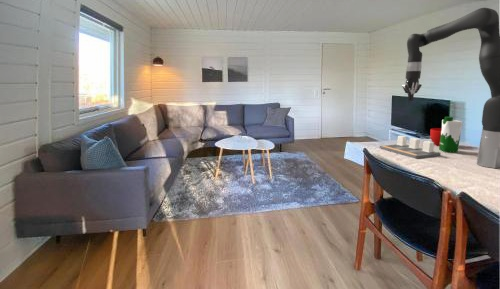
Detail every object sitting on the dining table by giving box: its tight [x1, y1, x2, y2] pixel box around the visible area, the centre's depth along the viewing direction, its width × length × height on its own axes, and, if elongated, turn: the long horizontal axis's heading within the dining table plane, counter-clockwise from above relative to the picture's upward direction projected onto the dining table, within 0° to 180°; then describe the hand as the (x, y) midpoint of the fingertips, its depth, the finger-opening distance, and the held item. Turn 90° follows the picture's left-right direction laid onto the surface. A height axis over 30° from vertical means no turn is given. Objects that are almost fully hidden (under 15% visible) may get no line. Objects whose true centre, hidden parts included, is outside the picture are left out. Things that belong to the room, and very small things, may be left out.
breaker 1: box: [395, 135, 408, 146], centre depth 179 cm, size 4×4×6 cm
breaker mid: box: [408, 137, 421, 149], centre depth 170 cm, size 4×4×6 cm
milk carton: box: [438, 116, 464, 154], centre depth 169 cm, size 9×9×20 cm
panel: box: [379, 143, 442, 160], centre depth 170 cm, size 26×18×2 cm
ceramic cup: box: [429, 127, 442, 147], centre depth 185 cm, size 13×17×10 cm
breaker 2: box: [422, 140, 435, 153], centre depth 162 cm, size 4×4×6 cm
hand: (410, 100), depth 172 cm, fingers closed
